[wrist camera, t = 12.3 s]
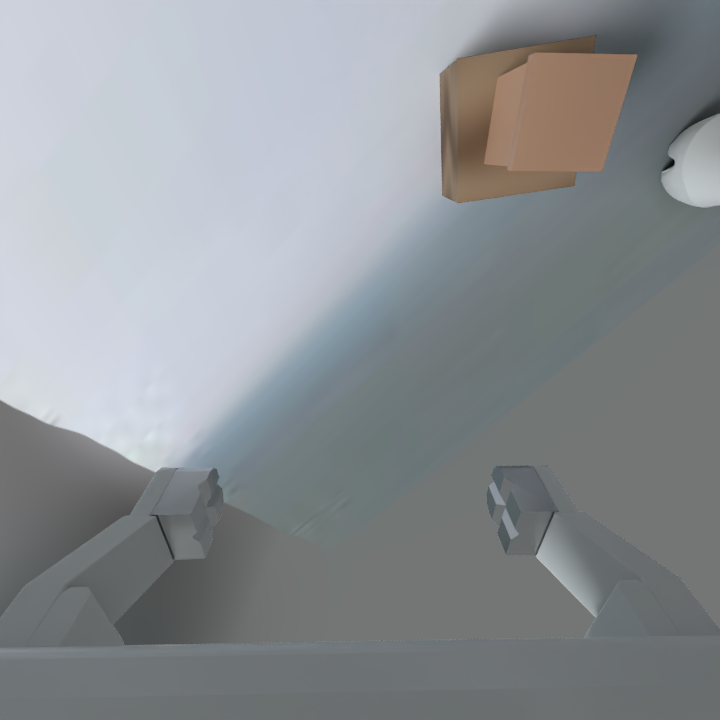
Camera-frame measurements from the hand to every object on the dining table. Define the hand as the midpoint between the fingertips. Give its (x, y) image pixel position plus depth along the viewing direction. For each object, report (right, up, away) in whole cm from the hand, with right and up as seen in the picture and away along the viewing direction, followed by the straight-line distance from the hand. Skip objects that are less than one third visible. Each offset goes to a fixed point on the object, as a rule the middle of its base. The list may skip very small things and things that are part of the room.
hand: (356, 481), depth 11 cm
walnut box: (+12, +23, +21) cm, 33 cm away
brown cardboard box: (+12, +21, +15) cm, 28 cm away
